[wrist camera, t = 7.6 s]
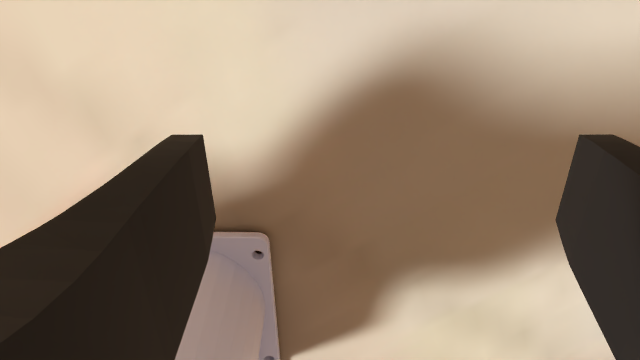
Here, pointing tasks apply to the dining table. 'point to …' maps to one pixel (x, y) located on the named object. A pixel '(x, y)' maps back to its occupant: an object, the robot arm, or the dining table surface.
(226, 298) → the robot arm
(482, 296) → the dining table surface
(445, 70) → the dining table surface
